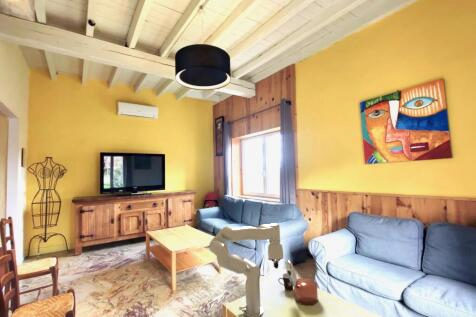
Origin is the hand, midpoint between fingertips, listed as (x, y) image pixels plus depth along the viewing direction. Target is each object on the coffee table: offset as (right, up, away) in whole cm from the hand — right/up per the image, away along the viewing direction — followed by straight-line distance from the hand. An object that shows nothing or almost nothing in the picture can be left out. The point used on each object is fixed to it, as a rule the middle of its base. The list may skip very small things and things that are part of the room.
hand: (276, 267), depth 168 cm
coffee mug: (+11, -25, +18) cm, 32 cm away
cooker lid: (+11, -4, +2) cm, 12 cm away
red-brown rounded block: (+22, -24, +2) cm, 32 cm away
